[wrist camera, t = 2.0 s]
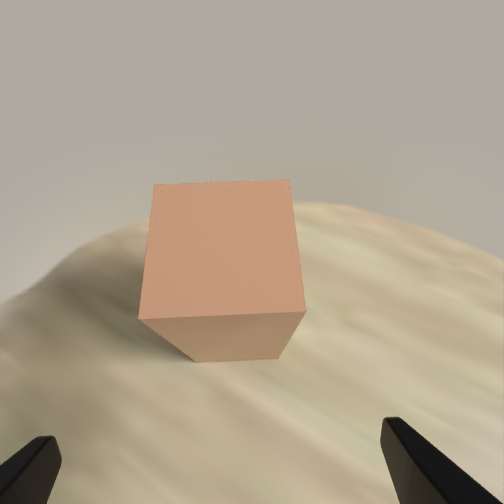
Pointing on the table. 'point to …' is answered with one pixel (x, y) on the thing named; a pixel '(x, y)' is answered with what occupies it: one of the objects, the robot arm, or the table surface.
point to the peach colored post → (223, 269)
